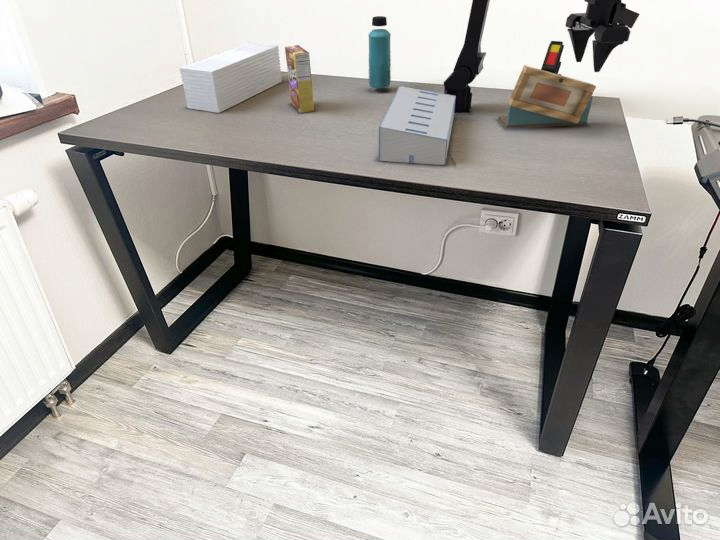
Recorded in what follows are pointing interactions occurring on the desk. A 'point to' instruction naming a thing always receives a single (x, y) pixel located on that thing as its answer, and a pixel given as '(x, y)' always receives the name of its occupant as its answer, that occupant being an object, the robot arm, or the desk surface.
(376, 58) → the beverage bottle
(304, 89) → the candy box
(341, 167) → the desk surface
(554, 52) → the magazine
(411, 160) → the warehouse
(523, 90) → the picture frame
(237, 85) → the stack of papers
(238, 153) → the desk surface
